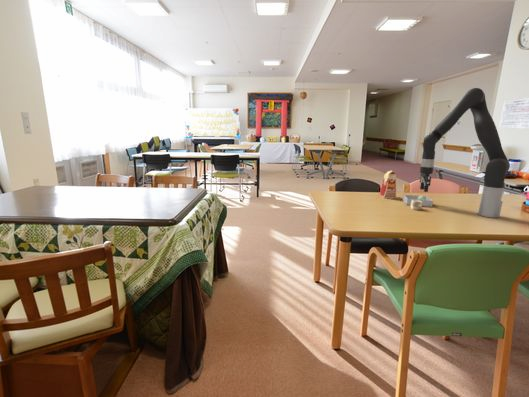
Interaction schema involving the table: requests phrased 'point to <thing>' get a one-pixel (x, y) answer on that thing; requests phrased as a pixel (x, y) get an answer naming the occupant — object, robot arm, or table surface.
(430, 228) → the table surface
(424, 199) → the ball
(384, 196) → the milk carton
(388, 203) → the table surface
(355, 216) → the table surface
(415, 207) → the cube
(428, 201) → the bin
